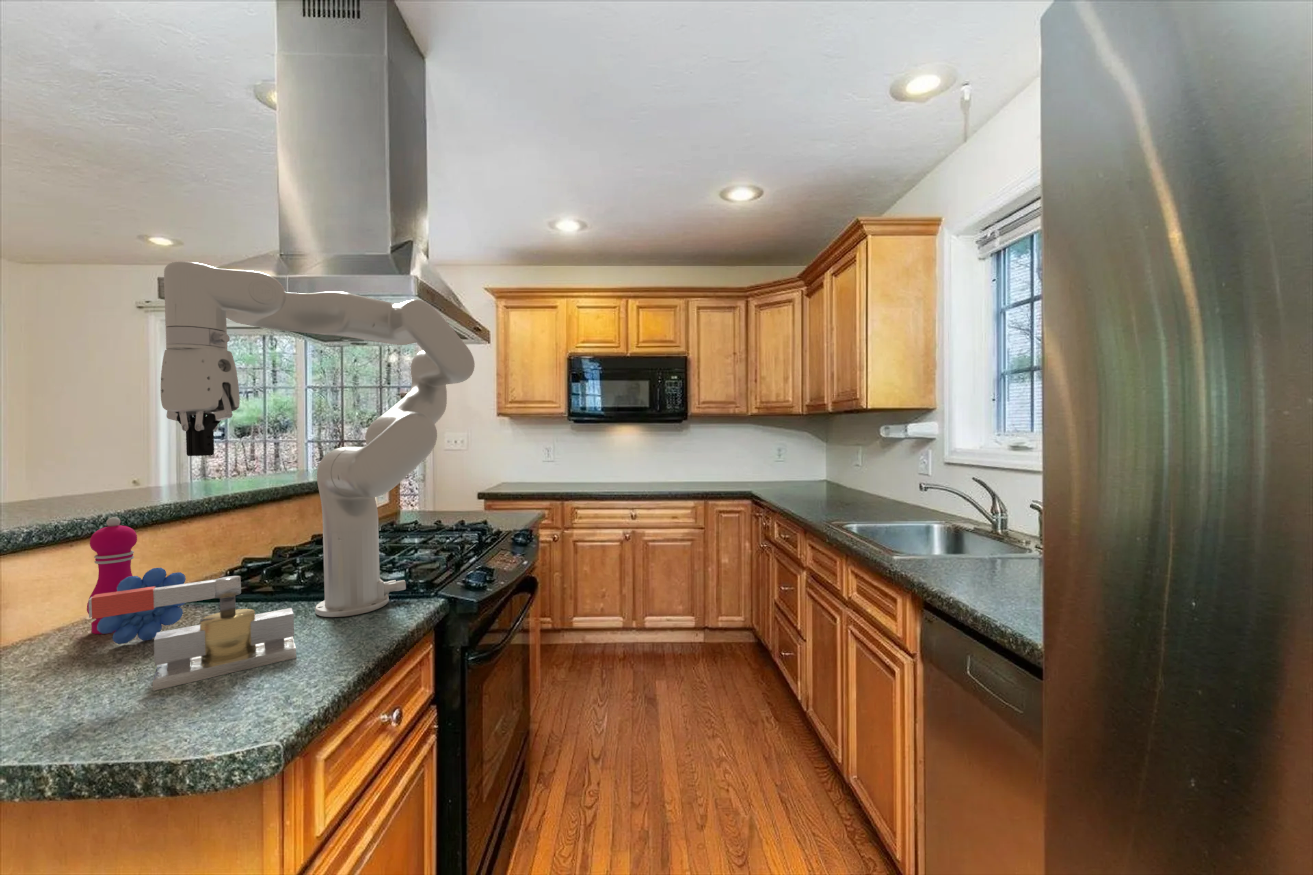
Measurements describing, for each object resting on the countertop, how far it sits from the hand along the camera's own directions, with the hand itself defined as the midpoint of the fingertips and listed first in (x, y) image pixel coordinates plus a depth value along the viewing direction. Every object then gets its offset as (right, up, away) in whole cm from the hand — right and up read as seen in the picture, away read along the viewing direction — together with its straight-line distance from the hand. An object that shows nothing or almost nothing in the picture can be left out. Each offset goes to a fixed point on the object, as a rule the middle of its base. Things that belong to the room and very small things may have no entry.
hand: (200, 455), depth 87 cm
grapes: (-13, -32, +4) cm, 34 cm away
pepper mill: (-23, -32, +10) cm, 40 cm away
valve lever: (+5, -21, -10) cm, 24 cm away
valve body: (+10, -31, -6) cm, 33 cm away
